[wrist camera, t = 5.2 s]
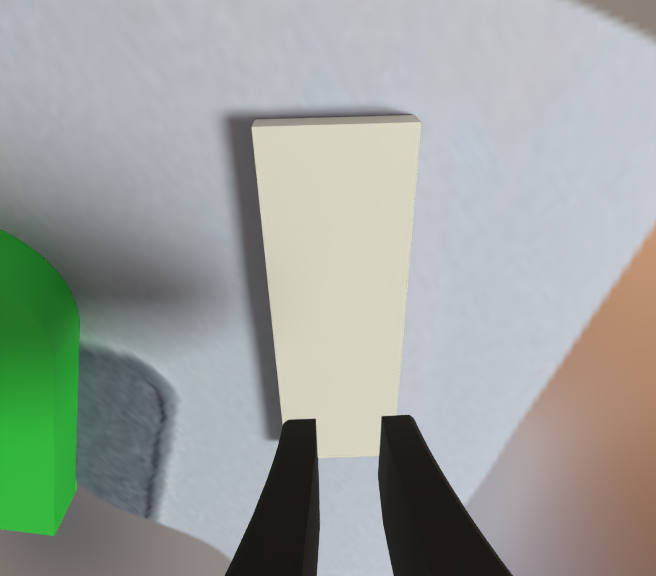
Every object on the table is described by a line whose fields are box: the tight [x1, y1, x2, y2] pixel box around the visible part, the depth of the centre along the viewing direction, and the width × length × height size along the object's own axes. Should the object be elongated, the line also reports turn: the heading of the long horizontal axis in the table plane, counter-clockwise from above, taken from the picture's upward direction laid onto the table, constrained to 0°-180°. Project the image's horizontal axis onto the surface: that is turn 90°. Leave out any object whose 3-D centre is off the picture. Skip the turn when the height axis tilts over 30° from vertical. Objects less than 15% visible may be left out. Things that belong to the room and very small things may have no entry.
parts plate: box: [252, 115, 421, 458], centre depth 14 cm, size 12×4×1 cm, turn 1°
